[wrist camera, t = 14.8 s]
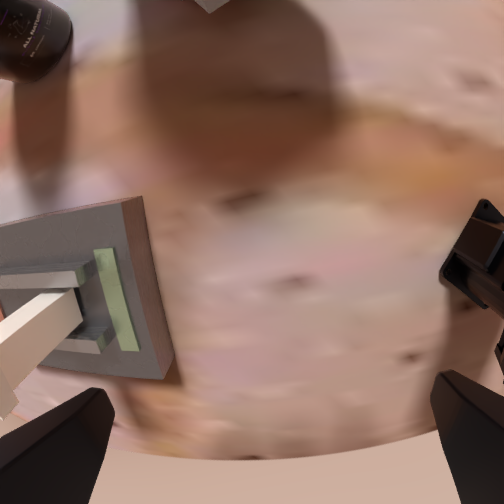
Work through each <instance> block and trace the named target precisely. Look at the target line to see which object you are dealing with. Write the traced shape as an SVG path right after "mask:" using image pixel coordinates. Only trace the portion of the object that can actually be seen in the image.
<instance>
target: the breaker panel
mask: <svg viewBox="0 0 504 504" xmlns="http://www.w3.org/2000/svg"><path fill="white" fill-rule="evenodd" d="M48 288H73V289H74V293H75V296H76V300H77V303H78V306H79V309H80V312H81V316H82V319H83V321H82V322H81V323H80V324H79V325H78V326H77V327H76V328H75V329H74V330H73V331H72V332H71V333H70V334H69V335H68V336H67V337H66V338H64V339H63V340H62V341H61V342H60V343H59V344H58V345H57V346H56V347H55V348H54V349H53V350H52V351H51V352H50V353H49V354H48V355H47V356H46V357H45V358H44V359H43V360H42V361H41V362H40V363H39V365H44V366H49V367H55V368H61V369H67V370H74V371H80V372H87V373H95V374H103V375H112V376H122V377H133V378H145V379H161V380H163V379H164V377H165V375H166V373H167V371H168V369H169V367H170V365H171V363H172V361H173V359H174V356H175V354H174V350H173V346H172V343H171V339H170V335H169V331H168V327H167V323H166V319H165V315H164V310H163V306H162V302H161V297H160V293H159V288H158V284H157V279H156V274H155V269H154V264H153V259H152V254H151V248H150V243H149V237H148V232H147V226H146V220H145V214H144V207H143V200H142V196H137V197H131V198H125V199H119V200H114V201H108V202H102V203H97V204H91V205H86V206H81V207H76V208H71V209H66V210H61V211H56V212H52V213H47V214H43V215H38V216H34V217H29V218H25V219H21V220H17V221H13V222H9V223H5V224H1V225H0V322H1V321H3V320H4V319H5V318H7V317H8V316H9V315H11V314H12V313H14V312H15V311H16V310H18V309H19V308H21V307H22V306H23V305H25V304H26V303H28V302H29V301H31V300H32V299H34V298H35V297H36V296H38V295H39V294H41V293H42V292H44V291H45V290H47V289H48Z"/></svg>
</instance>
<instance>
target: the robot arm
mask: <svg viewBox="0 0 504 504" xmlns="http://www.w3.org/2000/svg"><path fill="white" fill-rule="evenodd" d="M484 204H485V208H484V207H483V206H484ZM447 269H449V271H448V272H447V273H446V270H447ZM440 273H441V275H442V276H443V277H444V278H445V279H447V280H448V281H449V282H451V283H452V284H453V285H454V286H456V287H457V288H458V289H460V290H461V291H462V292H463V293H465V294H466V295H467V296H468V297H469V298H471V299H472V300H473V301H474V302H476V303H477V304H478V305H479V306H480V307H482V308H483V309H487V308H488V307H490V308H491V309H492V310H494V311H495V312H496V313H497V314H498V315H500V316H501V317H502V318H503V319H504V217H503V216H502V215H501V213H500V212H499V211H498V210H497V209H496V208H495V207H494V206H493V205H492V204H491V202H490V201H489V200H487V199H481V200H480V201H479V203H478V204H477V206H476V208H475V210H474V212H473V214H472V216H471V218H470V219H469V221H468V223H467V224H466V226H465V228H464V230H463V232H462V233H461V235H460V237H459V239H458V240H457V242H456V244H455V245H454V248H453V249H452V251H451V253H450V254H449V256H448V258H447V259H446V261H445V262H444V264H443V266H442V267H441V270H440ZM494 352H495V355H496V357H497V360H498V362H499V365H500V367H501V370H502V372H503V375H504V329H503V332H502V335H501V338H500V341H499V343H497V345H496V348H495V351H494ZM503 384H504V381H503ZM430 402H431V406H432V410H433V413H434V417H435V421H436V424H437V428H438V432H439V436H440V440H441V444H442V448H443V451H444V454H445V456H446V459H447V462H448V465H449V467H450V470H451V473H452V476H453V479H454V482H455V485H456V488H457V492H458V495H459V498H460V501H461V504H504V397H503V396H501V395H499V394H497V393H495V392H493V391H492V390H490V389H488V388H486V387H484V386H482V385H480V384H478V383H476V382H474V381H473V380H471V379H469V378H467V377H465V376H463V375H461V374H459V373H457V372H456V371H454V370H446V371H442V372H439V373H438V374H437V375H436V378H435V382H434V385H433V388H432V392H431V395H430ZM114 417H115V411H114V408H113V406H112V404H111V401H110V399H109V397H108V395H107V393H106V391H105V390H104V389H101V388H94V387H91V388H89V389H87V390H85V391H84V392H82V393H80V394H78V395H77V396H75V397H73V398H71V399H70V400H68V401H66V402H64V403H62V404H61V405H59V406H57V407H55V408H54V409H52V410H50V411H48V412H46V413H45V414H43V415H41V416H39V417H37V418H35V419H34V420H32V421H30V422H28V423H26V424H24V425H23V426H21V427H19V428H17V429H15V430H13V431H11V432H9V433H8V434H6V435H4V436H2V437H1V438H0V504H88V503H89V500H90V497H91V494H92V491H93V488H94V485H95V483H96V480H97V477H98V474H99V471H100V468H101V466H102V462H103V460H104V456H105V453H106V449H107V445H108V441H109V437H110V433H111V429H112V425H113V421H114Z"/></svg>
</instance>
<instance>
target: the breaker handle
mask: <svg viewBox="0 0 504 504" xmlns="http://www.w3.org/2000/svg"><path fill="white" fill-rule="evenodd" d="M82 321H83V319H82V316H81V312H80V309H79V306H78V303H77V300H76V296H75V293H74V289H73V288H48V289H47V290H45V291H44V292H42V293H41V294H39V295H38V296H36V297H35V298H34V299H32V300H31V301H29V302H28V303H26V304H25V305H23V306H22V307H21V308H19V309H18V310H16V311H15V312H14V313H12V314H11V315H9V316H8V317H7V318H5V319H4V320H3V321H1V322H0V419H1V420H4V419H5V418H6V417H7V415H8V414H9V413H10V412H11V411H12V410H13V409H14V407H15V406H16V405H17V404H18V403H19V401H18V399H17V397H16V395H15V394H14V392H13V390H14V389H15V388H16V387H17V386H18V385H19V384H20V383H21V382H22V381H23V380H24V379H25V378H26V377H27V376H28V375H29V374H30V372H31V371H32V370H33V369H34V368H35V367H36V366H37V365H38V364H39V363H40V362H41V361H42V360H43V359H44V358H45V357H46V356H47V355H48V354H49V353H50V352H51V351H52V350H53V349H54V348H55V347H56V346H57V345H58V344H59V343H60V342H61V341H62V340H63V339H64V338H66V337H67V336H68V335H69V334H70V333H71V332H72V331H73V330H74V329H75V328H76V327H77V326H78V325H79V324H80V323H81V322H82Z"/></svg>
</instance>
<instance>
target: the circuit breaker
mask: <svg viewBox="0 0 504 504" xmlns="http://www.w3.org/2000/svg"><path fill="white" fill-rule="evenodd" d="M181 1H183V0H181ZM194 1H195V2H197V3H198V4H199V5H200V6H201V7H202V8H203V9H204V10H205V11H206V12H208V13H209V14H210V13H212V12H213V11H215V10H216V9H218V8H219V7H221V6H222V5H224V4H225V3H227V2H228V1H230V0H194Z"/></svg>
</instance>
